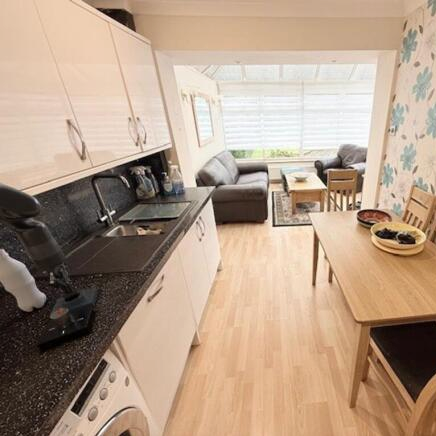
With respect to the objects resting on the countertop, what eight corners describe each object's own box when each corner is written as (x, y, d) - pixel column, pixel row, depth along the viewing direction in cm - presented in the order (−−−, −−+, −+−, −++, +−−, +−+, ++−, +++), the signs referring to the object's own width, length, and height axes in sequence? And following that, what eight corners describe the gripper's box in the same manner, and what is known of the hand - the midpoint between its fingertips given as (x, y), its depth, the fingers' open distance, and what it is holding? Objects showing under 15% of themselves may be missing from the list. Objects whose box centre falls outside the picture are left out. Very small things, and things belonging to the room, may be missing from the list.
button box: (52, 321, 83) (46, 312, 81) (60, 302, 91) (55, 294, 89) (94, 306, 88) (89, 298, 86) (98, 290, 96) (94, 283, 94)
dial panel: (41, 351, 72) (36, 344, 71) (52, 327, 80) (47, 321, 79) (90, 333, 77) (85, 326, 76) (95, 312, 85) (91, 306, 84)
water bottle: (39, 298, 94) (2, 244, 83) (53, 300, 93) (17, 245, 82) (17, 312, 88) (-26, 256, 77) (32, 314, 86) (-10, 258, 76)
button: (64, 303, 86) (62, 299, 85) (67, 296, 89) (65, 292, 88) (78, 298, 87) (76, 295, 87) (80, 292, 91) (78, 288, 90)
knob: (73, 325, 77) (66, 313, 75) (56, 332, 75) (47, 320, 73) (76, 316, 80) (68, 304, 78) (59, 322, 78) (51, 311, 76)
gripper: (53, 258, 76) (78, 299, 83) (65, 240, 86) (86, 278, 94) (22, 266, 73) (50, 308, 80) (38, 247, 83) (62, 285, 91)
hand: (69, 292), depth 87 cm, fingers closed
